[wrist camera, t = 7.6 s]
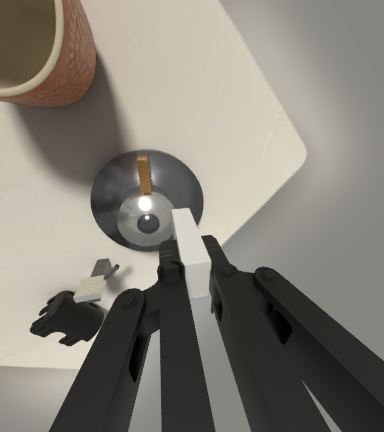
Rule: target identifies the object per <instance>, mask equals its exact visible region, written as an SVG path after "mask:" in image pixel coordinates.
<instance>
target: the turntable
mask: <svg viewBox="0 0 384 432" xmlns="http://www.w3.org/2000/svg"><path fill="white" fill-rule="evenodd" d="M139 185H140V186H141V192H142V193H151V189H152V185H154V186H157V187H160V188H161V189H163V190H164V191H165V192H166V193H167V194H168V195H169V197H170V199H171V201H172V204H173V207H174V209H182V208H189V209H190V211H191V214H192V216H193V218H194V221H195V223H196V226H197V225H198V223H199V221H200V218H201V215H202V211H203V193H202V189H201V186H200V184H199V182H198V180H197V178H196V176H195V175H194V174H193V172H192V171H191V170H190V169H189V168H188V167H187V166H186V165H185V164H184V163H183V162H182V161H180V160H179V159H177V158H176V157H174V156H172V155H170V154H168V153H165V152H162V151H158V150H152V149H142V150H134V151H130V152H127V153H125V154H122V155H120V156H118V157H117V158H115V159H114V160H112V161H111V162H110V163H109V164H107V165H106V166H105V167H104V168H103V169H102V170H101V172H100V173H99V174H98V176H97V178H96V179H95V182H94V184H93V187H92V191H91V209H92V213H93V216H94V218H95V220H96V222H97V224H98V226H99V227H100V228H101V230H102V231H103V232H104V233H105V234H106V235H107V236H108V237H109V238H111V239H112V240H113V241H115V242H116V243H118V244H120V245H122V246H124V247H127V248H130V249H134V250H138V251H158V250H159V246H160V244H161V243H160V244H158V245H154V246H139V245H135V244H133V243H131V242H129V241H127V240H126V239H125V238H124V237H123V236H122V235H121V233H120V231H119V229H118V225H117V219H118V215H119V211H120V208H121V205H122V201H123V199H124V197H125V195H126V194H127V192H128V191H130V190H131V189H132V188H134V187H136V186H139ZM168 240H174V234H172V235H171V237H170V238H168V239H167V240H166V241H168Z"/></svg>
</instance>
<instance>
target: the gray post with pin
mask: <svg viewBox="0 0 384 432" xmlns="http://www.w3.org/2000/svg"><path fill="white" fill-rule="evenodd" d="M110 267H111V265H110V262H109V259H101V260H97V262H96V265H95V267H94V270H93V272H92V274H91V277H89V278H83V279H82V280H81V282H80V284H79V286H78V288H77V290H76V293H75V295H74V297H73V299H74V300H75V302H76V303H78V302H83V301H86V303H92V302H97V301H100V300H101V297H102V294H103V291H104V287H105V284H106V281H107V278H108V277H110V276H111V275H112V274H113V273H114V272H115V271H116V270H118V269H119V265H118V264H116V265H115V266H114V267H113V268H112V269H110Z"/></svg>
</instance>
